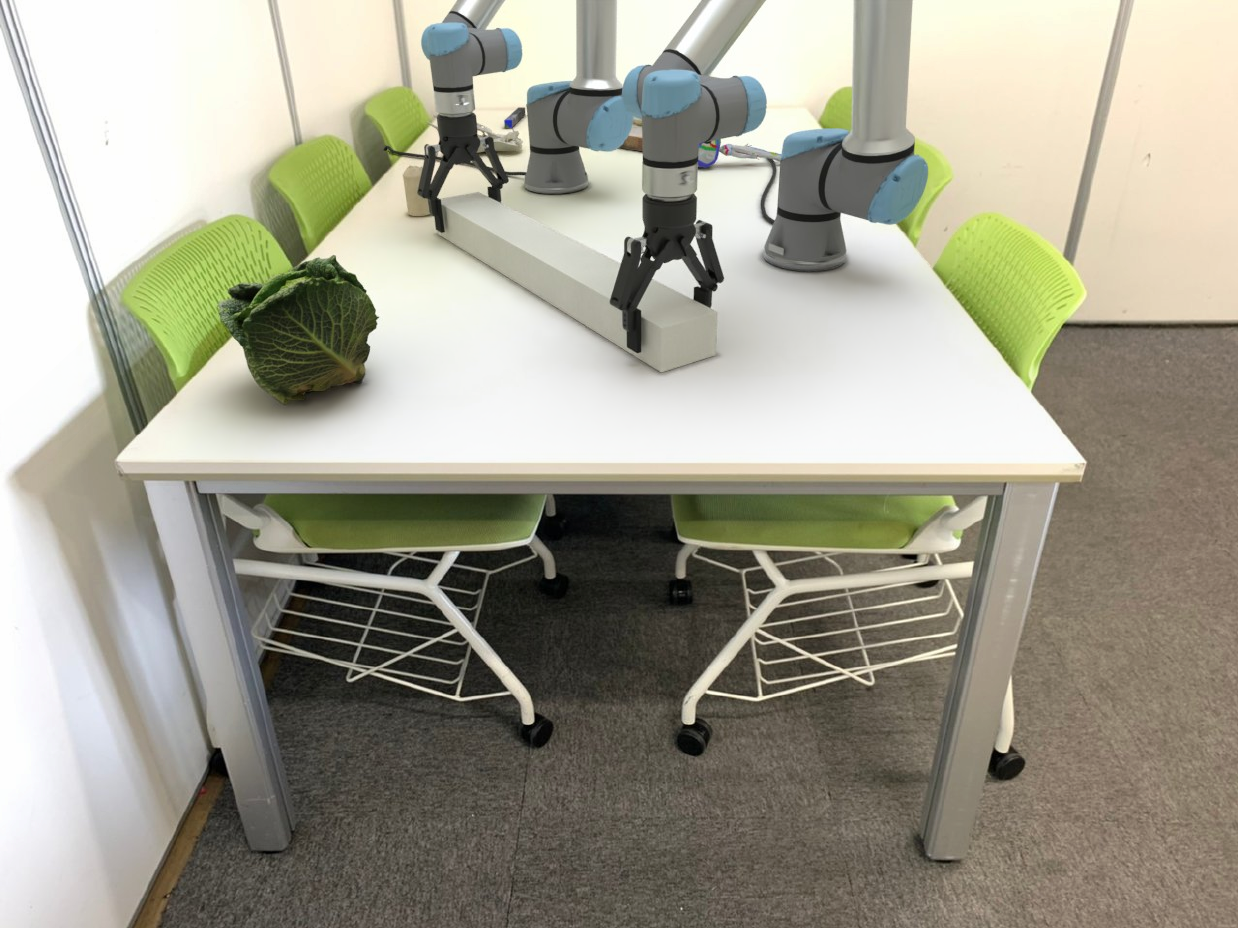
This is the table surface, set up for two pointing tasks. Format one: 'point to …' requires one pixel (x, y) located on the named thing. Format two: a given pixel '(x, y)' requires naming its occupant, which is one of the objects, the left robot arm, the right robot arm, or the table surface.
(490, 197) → the left robot arm
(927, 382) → the table surface
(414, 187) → the candle
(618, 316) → the light grey rectangular bar
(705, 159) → the toy
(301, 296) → the vegetable
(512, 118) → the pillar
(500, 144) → the anatomical model
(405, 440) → the table surface
